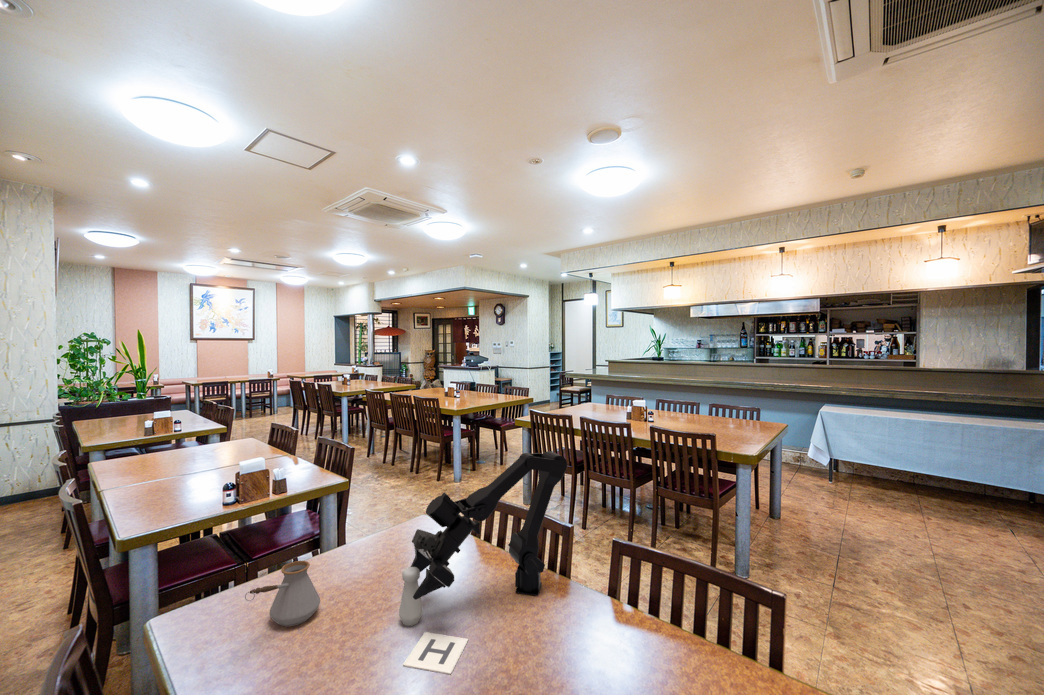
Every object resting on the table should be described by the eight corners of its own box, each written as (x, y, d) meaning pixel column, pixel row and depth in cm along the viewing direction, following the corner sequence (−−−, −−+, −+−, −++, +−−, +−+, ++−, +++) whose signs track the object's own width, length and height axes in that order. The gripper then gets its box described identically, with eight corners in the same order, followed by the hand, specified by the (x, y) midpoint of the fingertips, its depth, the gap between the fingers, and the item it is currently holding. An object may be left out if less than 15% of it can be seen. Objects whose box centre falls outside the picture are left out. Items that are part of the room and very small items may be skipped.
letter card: (468, 640, 102) (468, 638, 102) (450, 674, 91) (450, 673, 91) (425, 633, 104) (425, 631, 104) (402, 666, 94) (402, 664, 94)
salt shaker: (416, 630, 105) (416, 576, 105) (394, 626, 107) (394, 574, 107) (426, 615, 111) (426, 564, 111) (405, 612, 112) (405, 562, 112)
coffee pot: (290, 601, 117) (290, 546, 117) (329, 605, 115) (329, 549, 115) (224, 657, 96) (225, 590, 96) (271, 663, 94) (271, 594, 94)
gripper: (423, 506, 120) (380, 554, 115) (442, 532, 103) (393, 590, 98) (450, 530, 123) (410, 577, 118) (473, 559, 106) (427, 616, 101)
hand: (410, 588), depth 109 cm, fingers open, 9 cm apart
